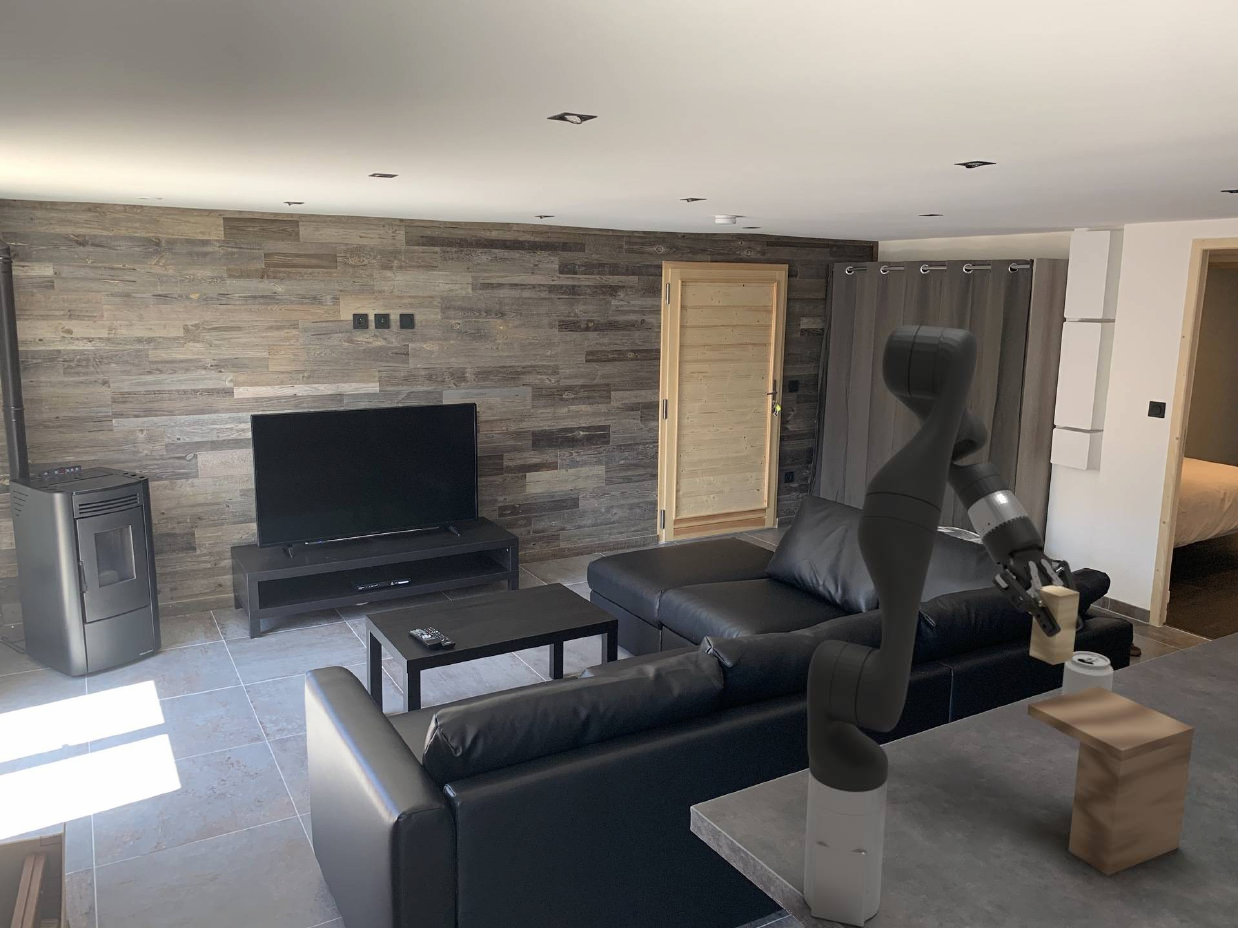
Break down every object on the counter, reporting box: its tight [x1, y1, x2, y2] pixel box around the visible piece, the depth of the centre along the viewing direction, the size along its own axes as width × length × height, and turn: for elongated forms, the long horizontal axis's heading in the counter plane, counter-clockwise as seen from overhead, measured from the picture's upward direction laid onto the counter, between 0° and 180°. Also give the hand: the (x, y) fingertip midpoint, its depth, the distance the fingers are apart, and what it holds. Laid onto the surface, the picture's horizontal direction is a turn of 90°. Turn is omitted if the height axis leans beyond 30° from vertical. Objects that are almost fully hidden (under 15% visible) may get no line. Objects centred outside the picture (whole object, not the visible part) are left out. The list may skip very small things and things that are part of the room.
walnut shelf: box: [1027, 686, 1195, 876], centre depth 133 cm, size 14×14×18 cm
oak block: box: [1029, 584, 1081, 666], centre depth 137 cm, size 4×4×10 cm
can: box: [1061, 650, 1114, 696], centre depth 166 cm, size 8×8×12 cm
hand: (1066, 631), depth 136 cm, fingers closed on oak block, 4 cm apart
